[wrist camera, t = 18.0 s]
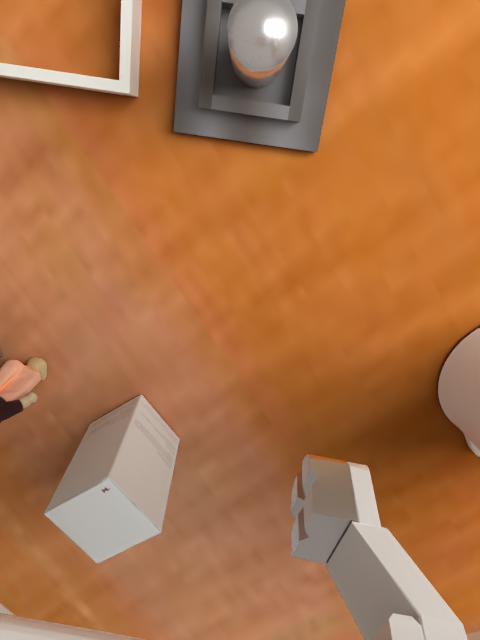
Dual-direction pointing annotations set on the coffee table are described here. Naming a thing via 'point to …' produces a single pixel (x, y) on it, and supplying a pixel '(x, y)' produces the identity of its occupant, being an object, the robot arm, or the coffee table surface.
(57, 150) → the coffee table surface
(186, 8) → the tray
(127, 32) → the white square frame
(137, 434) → the supplement box
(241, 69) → the ball
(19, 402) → the grandmother figurine
